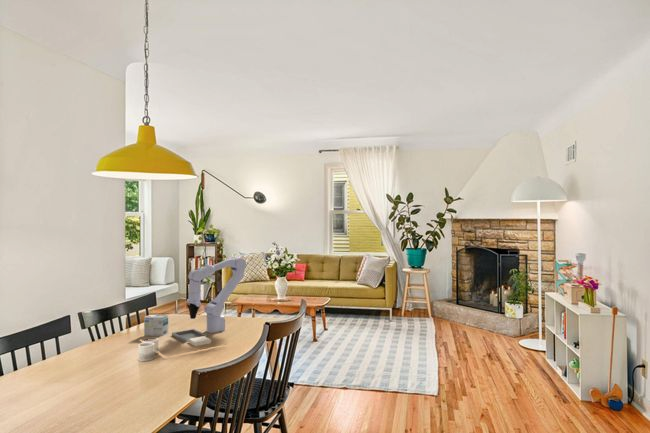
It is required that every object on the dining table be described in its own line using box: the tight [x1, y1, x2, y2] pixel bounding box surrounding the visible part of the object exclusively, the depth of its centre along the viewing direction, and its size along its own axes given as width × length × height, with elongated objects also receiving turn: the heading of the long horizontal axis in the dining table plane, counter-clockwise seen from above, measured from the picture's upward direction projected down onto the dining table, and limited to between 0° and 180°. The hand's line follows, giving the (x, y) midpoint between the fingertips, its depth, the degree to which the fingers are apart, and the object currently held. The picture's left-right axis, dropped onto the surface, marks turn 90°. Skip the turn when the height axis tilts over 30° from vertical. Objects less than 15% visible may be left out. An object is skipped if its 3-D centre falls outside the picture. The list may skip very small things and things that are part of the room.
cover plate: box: [188, 336, 212, 347], centre depth 216 cm, size 8×8×2 cm
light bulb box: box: [143, 314, 169, 337], centre depth 233 cm, size 11×7×11 cm, turn 84°
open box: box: [171, 328, 208, 344], centre depth 226 cm, size 12×17×2 cm
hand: (192, 318), depth 231 cm, fingers closed
